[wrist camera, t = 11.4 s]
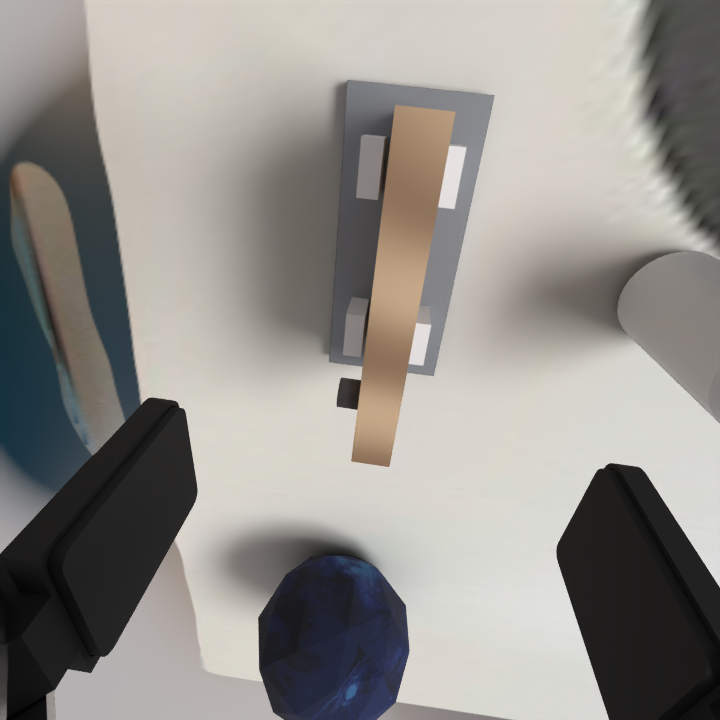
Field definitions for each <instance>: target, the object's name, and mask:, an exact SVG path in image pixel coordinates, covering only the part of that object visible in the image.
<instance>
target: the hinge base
mask: <svg viewBox="0 0 720 720" xmlns="http://www.w3.org/2000/svg"><path fill="white" fill-rule="evenodd" d="M494 96H495V95H487V94H477V93H468V92H458V91H448V90H439V89H429V88H420V87H410V86H401V85H391V84H382V83H372V82H363V81H353V80H347V96H346V111H345V126H344V142H343V157H342V173H341V188H340V203H339V219H338V234H337V249H336V265H335V280H334V295H333V311H332V326H331V341H330V357H329V362H333V363H340V364H348V365H355V366H362V367H363V362H364V354H365V346H366V338H367V330H368V322H369V313H370V305H371V297H372V289H373V281H374V273H375V265H376V256H377V248H378V240H379V232H380V224H381V216H382V208H383V200H384V191H385V183H386V175H387V167H388V159H389V151H390V143H391V135H392V126H393V118H394V110H395V105H402V106H410V107H419V108H427V109H436V110H445V111H453V112H456V113H455V118H454V124H453V129H452V134H451V140H450V145H449V150H448V156H447V161H446V166H445V172H444V177H443V182H442V188H441V193H440V198H439V204H438V209H437V214H436V220H435V225H434V230H433V236H432V241H431V246H430V252H429V257H428V263H427V268H426V273H425V279H424V284H423V289H422V295H421V300H420V305H419V311H418V316H417V321H416V327H415V332H414V337H413V343H412V348H411V353H410V359H409V364H408V369H407V373H415V374H422V375H430V376H434V372H435V367H436V363H437V358H438V354H439V349H440V344H441V340H442V335H443V331H444V326H445V321H446V317H447V312H448V308H449V303H450V298H451V294H452V289H453V285H454V280H455V275H456V271H457V266H458V262H459V257H460V252H461V248H462V243H463V238H464V234H465V229H466V225H467V220H468V215H469V211H470V206H471V202H472V197H473V192H474V188H475V183H476V179H477V174H478V169H479V165H480V160H481V156H482V151H483V146H484V142H485V137H486V133H487V128H488V123H489V119H490V114H491V110H492V105H493V100H494Z"/></svg>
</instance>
